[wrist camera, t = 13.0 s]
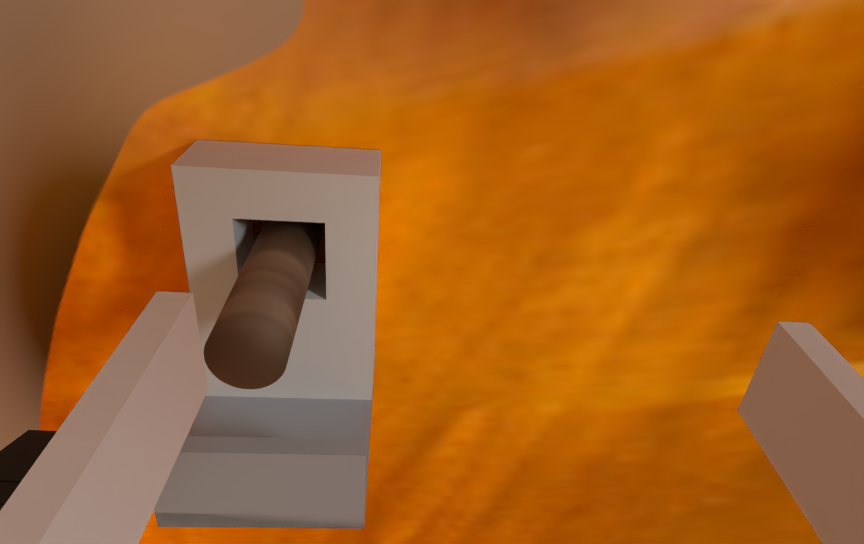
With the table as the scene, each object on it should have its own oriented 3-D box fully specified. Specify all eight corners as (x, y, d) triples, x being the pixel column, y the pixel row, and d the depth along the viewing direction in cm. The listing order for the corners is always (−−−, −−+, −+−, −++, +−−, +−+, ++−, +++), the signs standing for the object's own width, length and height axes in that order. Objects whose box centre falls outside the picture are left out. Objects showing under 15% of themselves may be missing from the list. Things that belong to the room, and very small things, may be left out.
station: (196, 139, 39) (91, 242, 26) (381, 150, 39) (370, 255, 26) (224, 365, 48) (158, 526, 35) (374, 369, 49) (363, 528, 36)
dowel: (264, 199, 41) (198, 322, 28) (322, 202, 41) (284, 325, 28) (267, 251, 43) (208, 388, 30) (323, 253, 43) (289, 390, 30)
